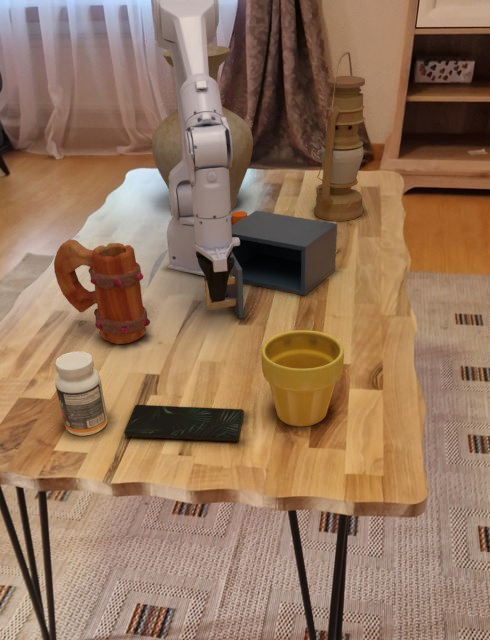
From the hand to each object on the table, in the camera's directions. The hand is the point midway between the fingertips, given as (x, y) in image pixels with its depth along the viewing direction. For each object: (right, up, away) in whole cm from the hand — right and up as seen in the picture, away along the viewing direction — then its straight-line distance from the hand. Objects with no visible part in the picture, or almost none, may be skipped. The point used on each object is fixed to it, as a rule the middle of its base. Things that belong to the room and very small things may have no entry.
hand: (217, 297), depth 119 cm
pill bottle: (-17, -23, -21) cm, 36 cm away
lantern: (+26, +29, +38) cm, 54 cm away
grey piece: (0, +2, +7) cm, 7 cm away
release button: (+4, +23, +29) cm, 37 cm away
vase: (-3, +34, +46) cm, 57 cm away
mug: (-17, -6, -1) cm, 18 cm away
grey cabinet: (+11, +8, +14) cm, 20 cm away
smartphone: (-4, -23, -22) cm, 33 cm away
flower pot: (+12, -22, -21) cm, 32 cm away
